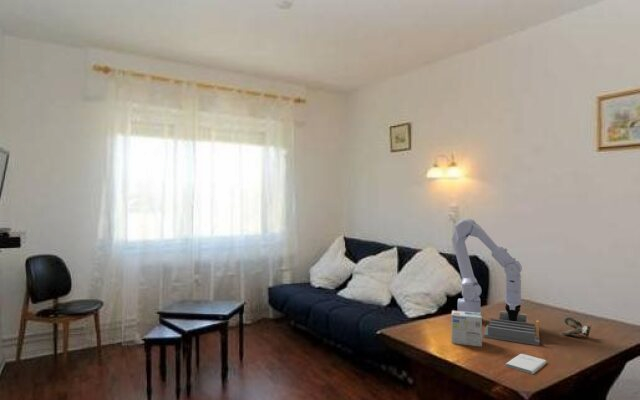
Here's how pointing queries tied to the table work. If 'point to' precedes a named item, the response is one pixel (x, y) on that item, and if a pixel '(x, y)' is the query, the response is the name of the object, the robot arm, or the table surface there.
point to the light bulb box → (466, 328)
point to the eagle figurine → (576, 327)
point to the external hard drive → (526, 363)
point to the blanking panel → (519, 318)
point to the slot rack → (513, 331)
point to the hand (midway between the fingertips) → (512, 323)
